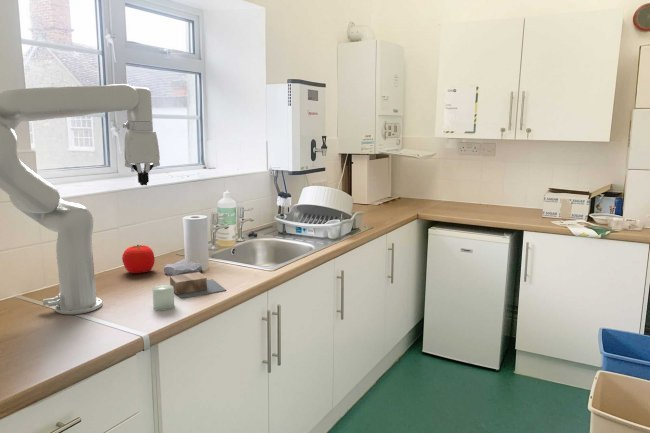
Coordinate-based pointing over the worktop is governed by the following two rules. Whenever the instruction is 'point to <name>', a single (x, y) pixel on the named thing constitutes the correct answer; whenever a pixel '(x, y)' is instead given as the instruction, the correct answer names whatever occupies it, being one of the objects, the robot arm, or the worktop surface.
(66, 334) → the worktop surface
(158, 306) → the rounded cube
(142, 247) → the tomato
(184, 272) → the stone block
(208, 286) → the mat
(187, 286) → the brown wooden block
